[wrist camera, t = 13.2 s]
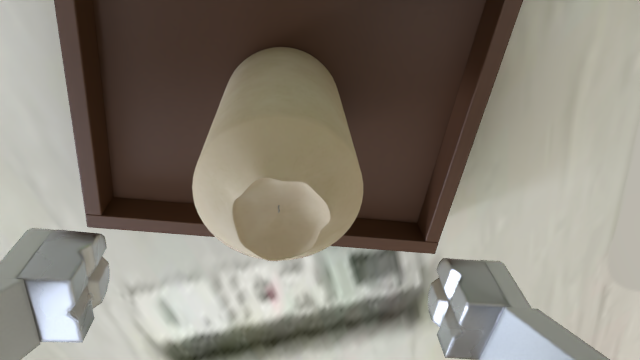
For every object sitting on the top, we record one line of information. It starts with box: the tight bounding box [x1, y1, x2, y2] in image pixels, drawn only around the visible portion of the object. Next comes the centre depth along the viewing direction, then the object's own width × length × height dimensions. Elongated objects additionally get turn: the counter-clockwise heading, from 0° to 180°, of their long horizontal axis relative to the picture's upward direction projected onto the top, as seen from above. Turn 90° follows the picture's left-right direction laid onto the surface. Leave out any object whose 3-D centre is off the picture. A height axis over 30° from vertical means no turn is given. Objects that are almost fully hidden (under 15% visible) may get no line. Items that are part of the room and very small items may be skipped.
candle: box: [192, 47, 363, 261], centre depth 17 cm, size 6×6×10 cm
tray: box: [54, 0, 523, 254], centre depth 21 cm, size 15×19×3 cm
